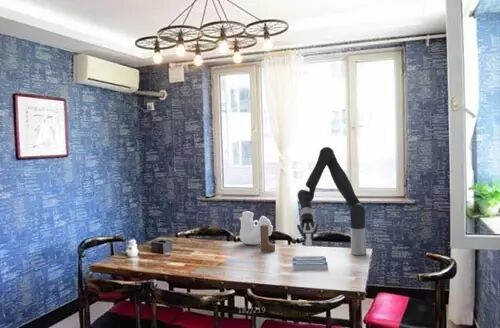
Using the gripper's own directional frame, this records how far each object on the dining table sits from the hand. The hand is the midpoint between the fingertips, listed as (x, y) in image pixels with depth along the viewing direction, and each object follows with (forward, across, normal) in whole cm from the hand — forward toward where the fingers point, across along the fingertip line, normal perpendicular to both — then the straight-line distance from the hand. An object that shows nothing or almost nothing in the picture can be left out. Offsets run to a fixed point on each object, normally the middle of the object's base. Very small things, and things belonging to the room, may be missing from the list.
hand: (308, 238), depth 255 cm
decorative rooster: (-25, -37, +46) cm, 64 cm away
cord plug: (+2, 0, +5) cm, 5 cm away
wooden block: (-10, -27, +32) cm, 43 cm away
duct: (+12, 0, +9) cm, 15 cm away
